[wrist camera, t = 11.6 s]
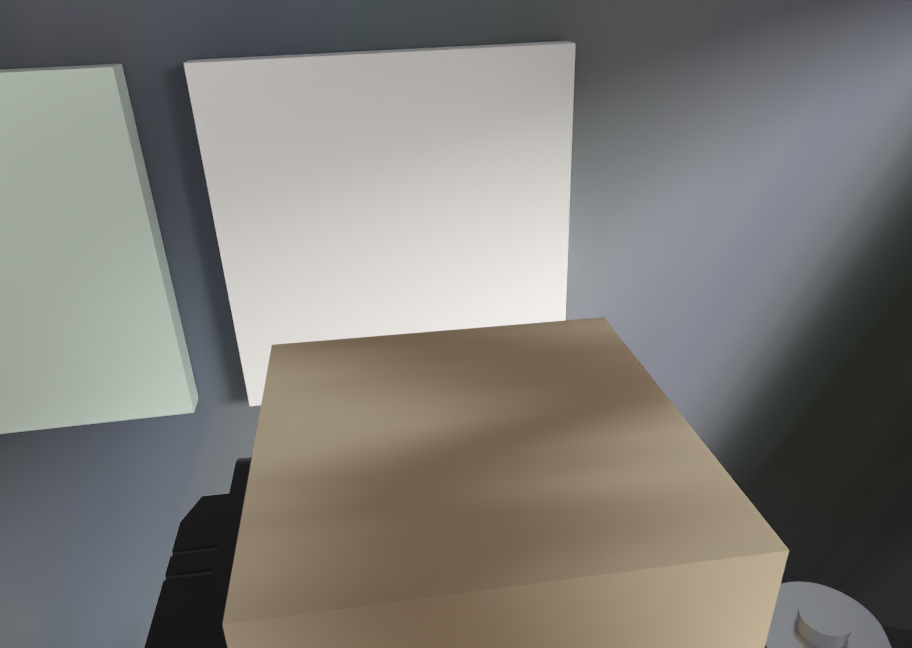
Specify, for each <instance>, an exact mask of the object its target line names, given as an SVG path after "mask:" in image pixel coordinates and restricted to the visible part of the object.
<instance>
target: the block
mask: <svg viewBox="0 0 912 648" xmlns="http://www.w3.org/2000/svg"><path fill="white" fill-rule="evenodd" d="M788 553H789V550H788V548H787V547H786V546H785V544H784V543H783V542H782V541H781V539H780V538H779V537H778V536H777V534H776V533H775V532H774V531H773V529H772V528H771V527H770V526H769V524H768V523H767V522H766V521H765V519H764V518H763V517H762V516H761V514H760V513H759V512H758V511H757V509H756V508H755V507H754V505H753V504H752V503H751V502H750V500H749V499H748V498H747V497H746V495H745V494H744V493H743V492H742V490H741V489H740V488H739V487H738V485H737V484H736V483H735V482H734V480H733V479H732V478H731V477H730V475H729V474H728V473H727V472H726V470H725V469H724V468H723V467H722V465H721V464H720V463H719V461H718V460H717V459H716V458H715V456H714V455H713V454H712V453H711V451H710V450H709V449H708V448H707V446H706V445H705V444H704V443H703V441H702V440H701V439H700V438H699V436H698V435H697V434H696V433H695V431H694V430H693V429H692V428H691V426H690V425H689V424H688V423H687V421H686V420H685V419H684V417H683V416H682V415H681V414H680V412H679V411H678V410H677V409H676V407H675V406H674V405H673V404H672V402H671V401H670V400H669V399H668V397H667V396H666V395H665V394H664V392H663V391H662V390H661V389H660V387H659V386H658V385H657V384H656V382H655V381H654V380H653V379H652V377H651V376H650V375H649V373H648V372H647V371H646V370H645V368H644V367H643V366H642V365H641V363H640V362H639V361H638V360H637V358H636V357H635V356H634V355H633V353H632V352H631V351H630V350H629V348H628V347H627V346H626V345H625V343H624V342H623V341H622V340H621V338H620V337H619V336H618V335H617V333H616V332H615V331H614V329H613V328H612V327H611V326H610V324H609V323H608V322H607V321H606V319H605V318H604V317H602V318H590V319H578V320H566V321H554V322H542V323H529V324H517V325H505V326H493V327H481V328H469V329H457V330H445V331H433V332H421V333H408V334H396V335H384V336H372V337H360V338H348V339H336V340H324V341H312V342H299V343H287V344H275V345H272V347H271V353H270V358H269V364H268V369H267V375H266V381H265V386H264V392H263V398H262V403H261V409H260V415H259V420H258V426H257V432H256V437H255V443H254V449H253V454H252V460H251V465H250V471H249V477H248V482H247V488H246V494H245V499H244V505H243V511H242V516H241V522H240V528H239V533H238V539H237V545H236V550H235V556H234V561H233V567H232V573H231V578H230V584H229V590H228V595H227V601H226V607H225V612H224V618H223V624H222V626H223V630H224V635H225V639H226V643H227V648H765V644H766V640H767V636H768V632H769V628H770V624H771V620H772V616H773V613H774V609H775V605H776V601H777V597H778V593H779V589H780V585H781V581H782V577H783V573H784V569H785V565H786V561H787V557H788Z"/></svg>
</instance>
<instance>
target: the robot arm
mask: <svg viewBox="0 0 912 648" xmlns="http://www.w3.org/2000/svg"><path fill="white" fill-rule="evenodd" d="M251 460H252V457H249V458H239V459H237V461H236V465H235V469H234V474H233V479H232V484H231V489H230V493H229V494H221V495H212V496H203V497H201V499H200V500H199V501H198V502H197V503H196V505H195V506H194V507H193V508H192V509H191V511H190V512H189V513H188V514H187V515H186V516H185V518H184V519H183V520H182V521H181V523H180V526H179V530H178V533H177V537H176V540H175V543H174V547H173V550H172V551H173V556H171V557H170V561H169V564H168V568H167V571H166V581H164V582H163V585H162V589H161V592H160V596H159V599H158V603H157V606H156V610H155V613H154V617H153V620H152V623H151V627H150V630H149V634H148V637H147V641H146V644H145V648H227V643H226V639H225V635H224V630H223V626H222V624H223V618H224V612H225V607H226V601H227V595H228V590H229V584H230V578H231V573H232V567H233V561H234V556H235V550H236V545H237V539H238V533H239V528H240V522H241V516H242V511H243V505H244V499H245V494H246V488H247V482H248V477H249V471H250V465H251ZM765 648H912V631H911V630H904V629H897V628H891V627H886V626H881V625H880V624H879V622H878V621H877V619H876V618H875V617H874V616H873V615H872V614H871V613H870V612H869V611H868V610H867V609H866V608H864V607H863V606H862V605H861V604H860V603H858V602H857V601H855V600H854V599H852V598H851V597H849V596H847V595H845V594H843V593H841V592H839V591H837V590H835V589H832V588H830V587H827V586H823V585H820V584H815V583H810V582H809V581H808V580H807V579H806V577H805V576H804V575H803V574H802V572H801V571H800V570H799V568H798V567H797V566H796V565H795V563H794V562H793V561H792V560H791V558H790V557H789V556H788V557H787V561H786V565H785V569H784V573H783V577H782V581H781V585H780V589H779V593H778V597H777V601H776V605H775V609H774V613H773V616H772V620H771V624H770V628H769V632H768V636H767V640H766V644H765Z"/></svg>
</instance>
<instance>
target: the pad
mask: <svg viewBox="0 0 912 648" xmlns="http://www.w3.org/2000/svg"><path fill="white" fill-rule="evenodd" d="M575 47H576V43H573V42H569V41H552V42H533V43H513V44H493V45H474V46H454V47H434V48H415V49H395V50H375V51H356V52H336V53H316V54H297V55H277V56H257V57H238V58H218V59H199V60H189V61H187V62H185V63H183V64H184V69H185V74H186V79H187V84H188V89H189V95H190V100H191V105H192V110H193V115H194V120H195V126H196V131H197V136H198V141H199V146H200V152H201V157H202V162H203V167H204V172H205V177H206V183H207V188H208V193H209V198H210V203H211V208H212V214H213V219H214V224H215V229H216V234H217V240H218V245H219V250H220V255H221V260H222V265H223V271H224V276H225V281H226V286H227V291H228V296H229V302H230V307H231V312H232V317H233V322H234V328H235V333H236V338H237V343H238V348H239V353H240V359H241V364H242V369H243V374H244V379H245V384H246V390H247V395H248V400H249V405H250V406H258V405H261V403H262V398H263V392H264V386H265V381H266V375H267V369H268V364H269V358H270V353H271V347H272V345H275V344H287V343H299V342H312V341H324V340H336V339H348V338H360V337H372V336H384V335H396V334H408V333H421V332H433V331H445V330H457V329H469V328H481V327H493V326H505V325H517V324H529V323H542V322H554V321H565V316H566V289H567V262H568V235H569V209H570V182H571V155H572V128H573V101H574V74H575Z"/></svg>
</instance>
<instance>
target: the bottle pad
mask: <svg viewBox="0 0 912 648" xmlns="http://www.w3.org/2000/svg"><path fill="white" fill-rule="evenodd" d="M198 399H199V398H198V393H197V389H196V385H195V380H194V376H193V372H192V367H191V363H190V358H189V354H188V350H187V345H186V341H185V337H184V332H183V328H182V324H181V319H180V315H179V311H178V306H177V302H176V297H175V293H174V289H173V284H172V280H171V276H170V271H169V267H168V263H167V258H166V254H165V250H164V245H163V241H162V236H161V232H160V228H159V223H158V219H157V215H156V210H155V206H154V202H153V197H152V193H151V189H150V184H149V180H148V175H147V171H146V167H145V162H144V158H143V154H142V149H141V145H140V141H139V136H138V132H137V128H136V123H135V119H134V114H133V110H132V106H131V101H130V97H129V93H128V88H127V84H126V80H125V75H124V71H123V67H122V63H120V64H100V65H81V66H61V67H41V68H22V69H2V70H0V434H4V433H13V432H22V431H31V430H41V429H50V428H59V427H68V426H77V425H86V424H95V423H104V422H113V421H122V420H131V419H140V418H149V417H158V416H167V415H177V414H186V413H194V411H195V408H196V405H197V402H198Z"/></svg>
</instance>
